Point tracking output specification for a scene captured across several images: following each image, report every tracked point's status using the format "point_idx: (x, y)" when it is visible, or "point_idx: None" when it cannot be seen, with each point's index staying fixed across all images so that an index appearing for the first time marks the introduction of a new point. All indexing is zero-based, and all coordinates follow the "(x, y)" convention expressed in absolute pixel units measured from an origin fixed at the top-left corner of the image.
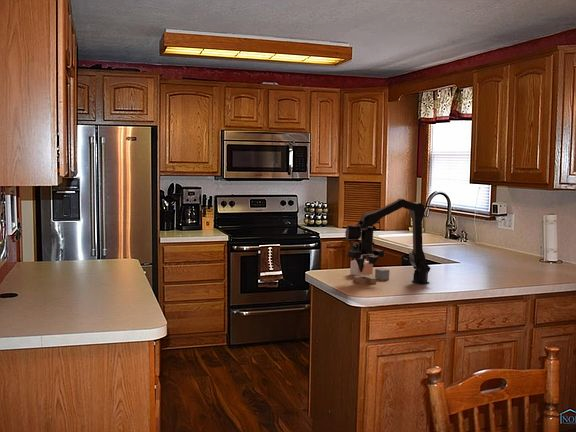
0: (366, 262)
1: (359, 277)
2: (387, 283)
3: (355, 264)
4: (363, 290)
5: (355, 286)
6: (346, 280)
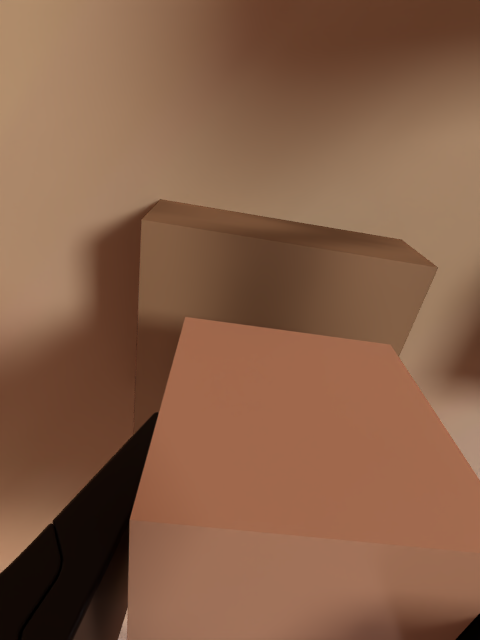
0: (468, 579)
1: (178, 338)
2: None
3: None
4: (10, 518)
5: (19, 404)
6: (104, 72)
